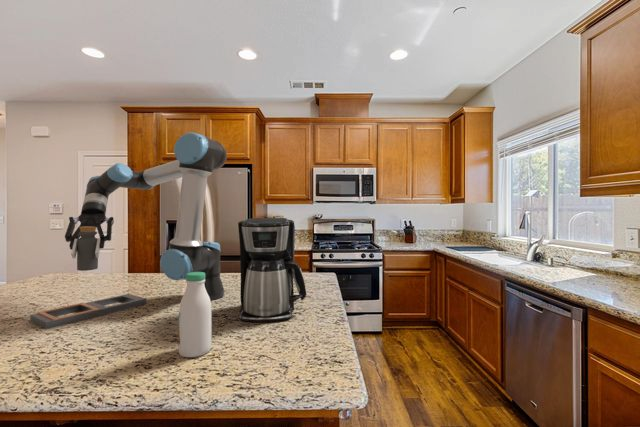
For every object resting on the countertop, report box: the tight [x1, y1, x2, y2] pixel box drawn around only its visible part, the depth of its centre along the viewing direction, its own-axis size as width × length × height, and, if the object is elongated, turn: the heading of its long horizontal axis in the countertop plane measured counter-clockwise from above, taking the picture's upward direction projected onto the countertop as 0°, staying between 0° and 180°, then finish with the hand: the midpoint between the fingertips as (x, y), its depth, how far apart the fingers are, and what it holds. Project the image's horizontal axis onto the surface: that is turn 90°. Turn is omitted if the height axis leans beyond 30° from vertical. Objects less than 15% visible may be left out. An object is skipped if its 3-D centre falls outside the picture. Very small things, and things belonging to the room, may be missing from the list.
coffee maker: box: [237, 217, 307, 323], centre depth 112 cm, size 23×32×34 cm
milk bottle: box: [178, 272, 212, 358], centre depth 77 cm, size 8×8×20 cm
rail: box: [29, 293, 147, 330], centre depth 107 cm, size 13×30×2 cm, turn 149°
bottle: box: [76, 226, 99, 272], centre depth 107 cm, size 6×6×15 cm
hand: (85, 255), depth 104 cm, fingers closed on bottle, 6 cm apart
